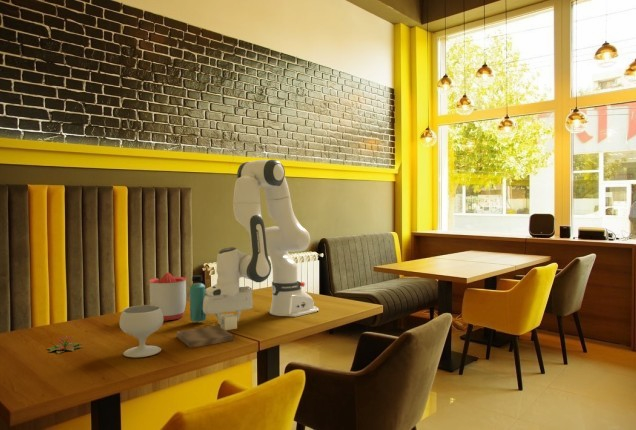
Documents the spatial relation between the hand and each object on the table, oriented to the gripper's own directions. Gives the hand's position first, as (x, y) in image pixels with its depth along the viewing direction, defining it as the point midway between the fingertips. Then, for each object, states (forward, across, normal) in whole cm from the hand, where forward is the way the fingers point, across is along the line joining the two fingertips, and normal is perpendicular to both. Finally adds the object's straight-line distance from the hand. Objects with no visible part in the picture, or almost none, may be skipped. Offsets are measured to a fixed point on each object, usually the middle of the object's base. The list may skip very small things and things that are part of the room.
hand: (228, 322), depth 193 cm
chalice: (+2, +36, +13) cm, 38 cm away
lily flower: (+3, +58, -7) cm, 58 cm away
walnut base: (+2, +13, +9) cm, 16 cm away
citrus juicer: (+2, +16, -31) cm, 35 cm away
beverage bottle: (+2, +8, -14) cm, 16 cm away
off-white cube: (+2, 0, 0) cm, 2 cm away
